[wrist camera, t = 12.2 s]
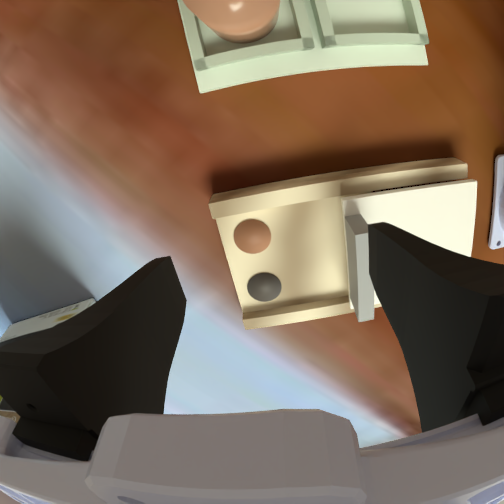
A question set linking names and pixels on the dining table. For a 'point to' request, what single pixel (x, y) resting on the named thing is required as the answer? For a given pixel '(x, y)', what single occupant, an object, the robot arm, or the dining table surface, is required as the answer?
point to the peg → (237, 18)
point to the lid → (405, 228)
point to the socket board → (311, 41)
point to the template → (303, 238)
